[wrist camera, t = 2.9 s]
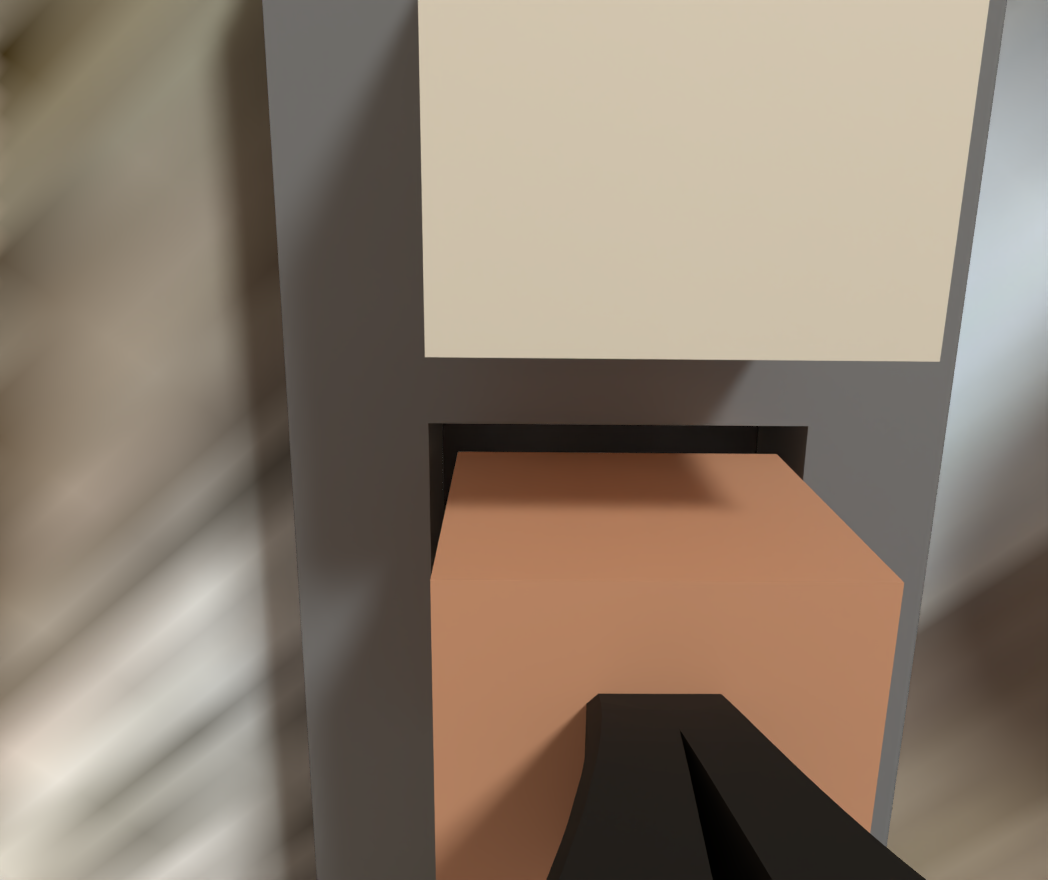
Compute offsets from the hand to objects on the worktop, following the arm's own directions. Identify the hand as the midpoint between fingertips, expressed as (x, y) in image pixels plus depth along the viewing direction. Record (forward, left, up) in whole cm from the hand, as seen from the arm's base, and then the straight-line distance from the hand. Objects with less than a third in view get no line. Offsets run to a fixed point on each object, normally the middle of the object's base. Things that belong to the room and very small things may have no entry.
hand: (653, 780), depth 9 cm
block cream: (+6, 0, -4) cm, 8 cm away
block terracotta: (0, 0, -4) cm, 4 cm away
